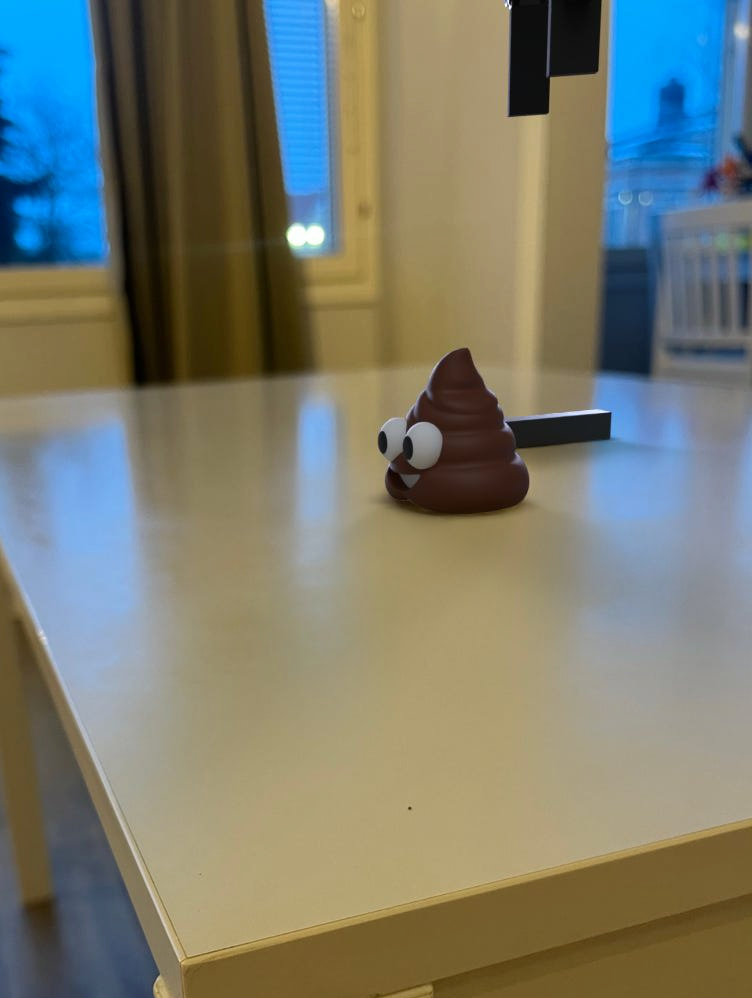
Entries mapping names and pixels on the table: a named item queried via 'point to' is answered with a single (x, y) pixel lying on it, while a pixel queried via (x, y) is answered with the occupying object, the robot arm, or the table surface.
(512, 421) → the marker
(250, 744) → the table surface
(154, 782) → the table surface
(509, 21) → the robot arm
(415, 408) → the poop emoji
